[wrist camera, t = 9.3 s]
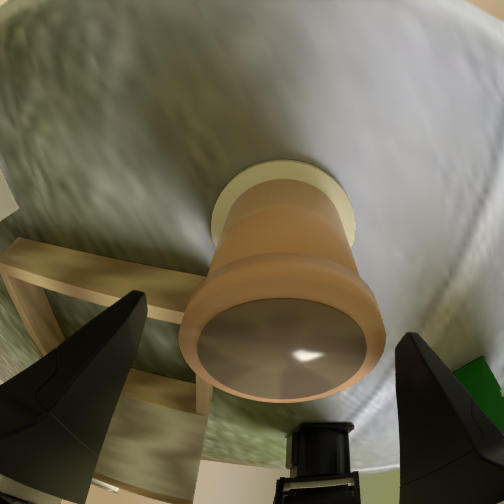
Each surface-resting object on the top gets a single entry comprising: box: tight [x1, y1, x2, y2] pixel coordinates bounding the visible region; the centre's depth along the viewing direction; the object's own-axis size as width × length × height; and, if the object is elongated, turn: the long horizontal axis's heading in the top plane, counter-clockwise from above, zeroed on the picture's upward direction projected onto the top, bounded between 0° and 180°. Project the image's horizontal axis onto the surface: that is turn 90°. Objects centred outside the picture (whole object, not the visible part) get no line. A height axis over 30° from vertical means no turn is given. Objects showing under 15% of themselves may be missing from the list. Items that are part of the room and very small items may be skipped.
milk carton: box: [453, 356, 504, 435], centre depth 15 cm, size 9×9×20 cm
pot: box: [178, 179, 386, 403], centre depth 11 cm, size 6×6×7 cm
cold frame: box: [0, 237, 214, 504], centre depth 16 cm, size 16×14×12 cm
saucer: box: [211, 160, 356, 248], centre depth 14 cm, size 7×7×1 cm
